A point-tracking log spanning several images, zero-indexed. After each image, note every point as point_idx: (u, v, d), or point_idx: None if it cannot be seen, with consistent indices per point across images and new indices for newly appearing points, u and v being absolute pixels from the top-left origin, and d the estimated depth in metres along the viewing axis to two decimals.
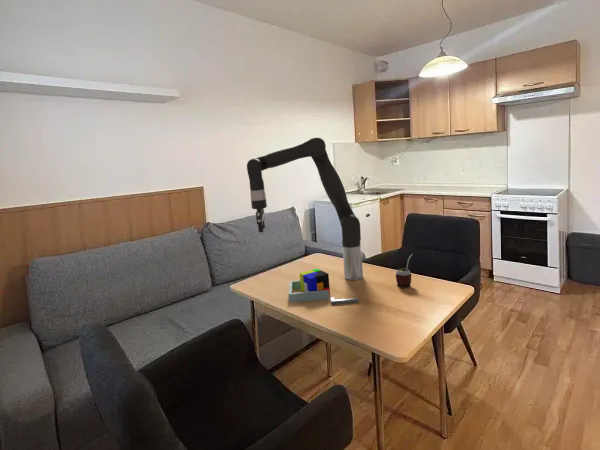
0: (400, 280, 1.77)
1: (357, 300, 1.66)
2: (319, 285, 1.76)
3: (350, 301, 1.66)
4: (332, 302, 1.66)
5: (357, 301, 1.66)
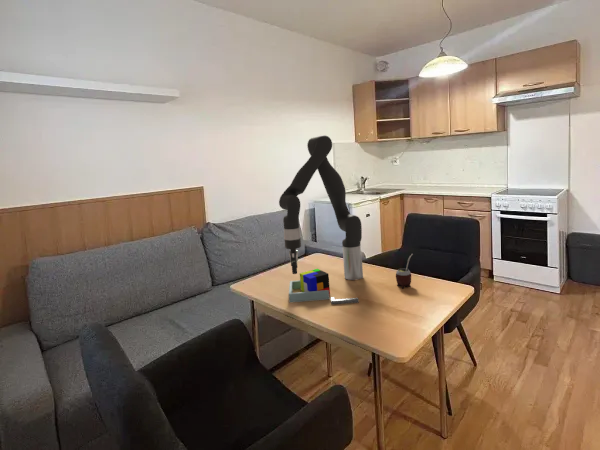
0: (400, 280, 1.77)
1: (357, 300, 1.66)
2: (319, 285, 1.76)
3: (350, 301, 1.66)
4: (332, 302, 1.67)
5: (357, 301, 1.66)
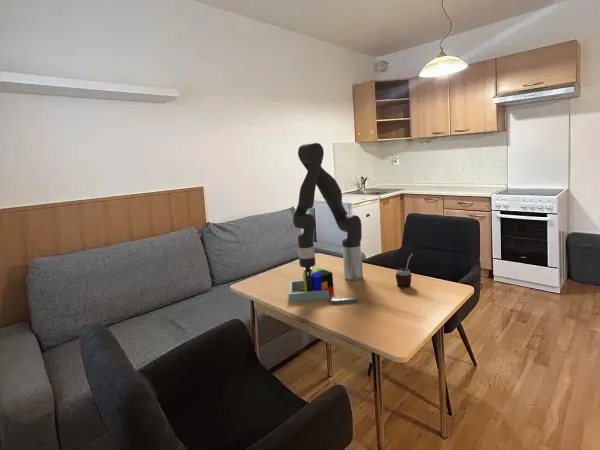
0: (400, 280, 1.77)
1: (357, 300, 1.66)
2: (323, 284, 1.76)
3: (350, 301, 1.67)
4: (332, 301, 1.67)
5: (357, 301, 1.66)
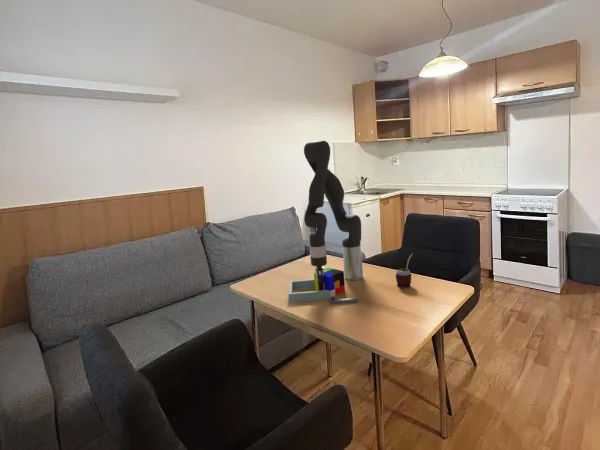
0: (400, 280, 1.77)
1: (357, 300, 1.66)
2: (336, 283, 1.76)
3: (350, 301, 1.67)
4: (332, 301, 1.67)
5: (357, 301, 1.66)
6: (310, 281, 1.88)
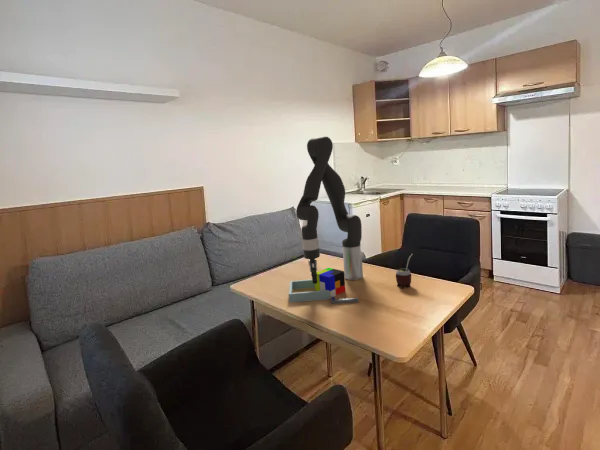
0: (400, 280, 1.77)
1: (357, 300, 1.66)
2: (336, 283, 1.76)
3: (350, 301, 1.67)
4: (332, 301, 1.67)
5: (357, 301, 1.66)
6: (310, 281, 1.88)
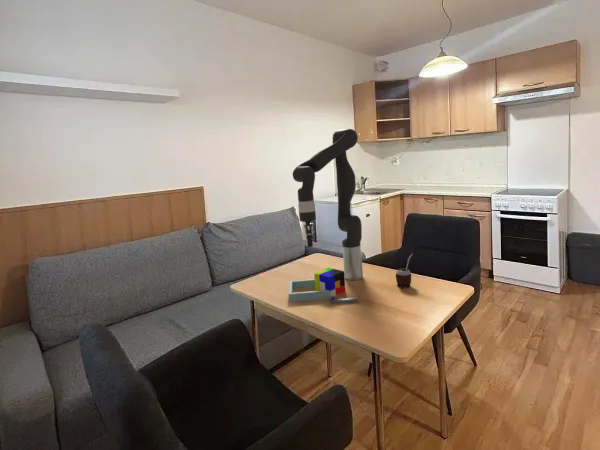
0: (400, 280, 1.77)
1: (357, 300, 1.66)
2: (337, 283, 1.76)
3: (350, 301, 1.67)
4: (332, 301, 1.67)
5: (357, 301, 1.66)
6: (310, 281, 1.88)
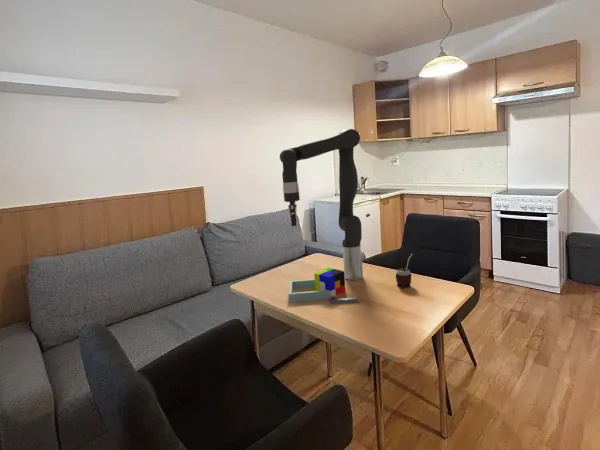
0: (400, 280, 1.77)
1: (357, 300, 1.66)
2: (337, 283, 1.76)
3: (350, 301, 1.67)
4: (332, 301, 1.68)
5: (357, 301, 1.67)
6: (310, 281, 1.88)
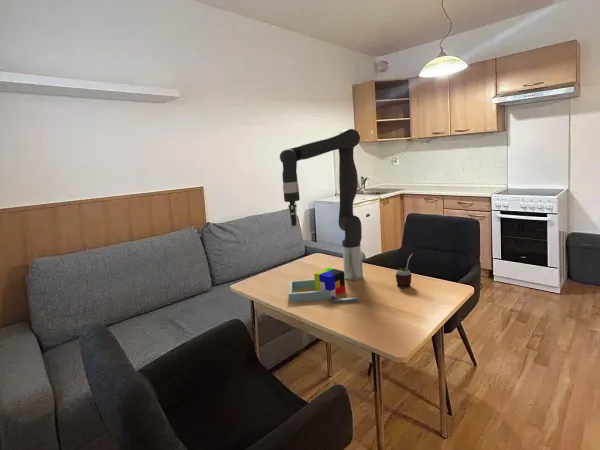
0: (400, 280, 1.77)
1: (357, 300, 1.66)
2: (336, 283, 1.76)
3: (350, 300, 1.67)
4: (332, 301, 1.68)
5: (357, 301, 1.67)
6: (310, 281, 1.88)
